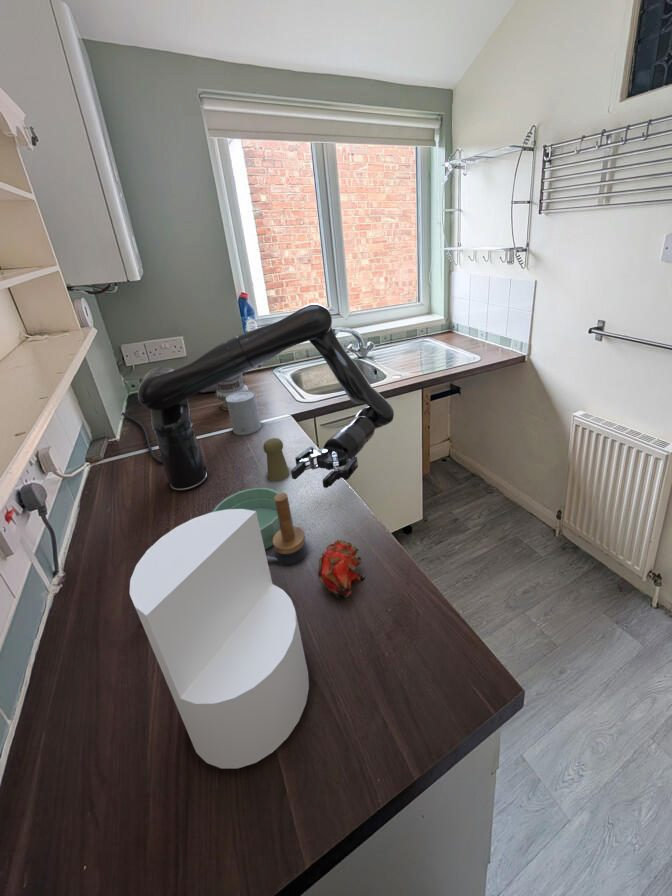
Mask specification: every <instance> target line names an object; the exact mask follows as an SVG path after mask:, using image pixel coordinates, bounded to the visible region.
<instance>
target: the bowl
mask: <svg viewBox="0 0 672 896" xmlns="http://www.w3.org/2000/svg"><path fill="white" fill-rule="evenodd" d="M279 493H280V492H278V491H277V490H276V489H272V488H269V487H253V488H247V489H244V490H240V491H237V492H235V493H233V494H231V495H229V496H227V497H226V498H224V499H223V500H222V501H220V502H219V503H218V504H217V505H216V506H215V507H214V508H213V510H212V511H211V512H216V511H221V510H226V509H246V510H252V511H256V513H257V518H258V522H259V527H260V531H261V535H262V540H263V544H264V549H265V551H266V550H268V549H269V548H271V547H273V537H274V535H275V534H276V533H277V532H278V531H279V530H280V525H279V520H278V515H277V510H276V505H275V500H274V497H275V496H276V495H277V494H279Z"/></svg>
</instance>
